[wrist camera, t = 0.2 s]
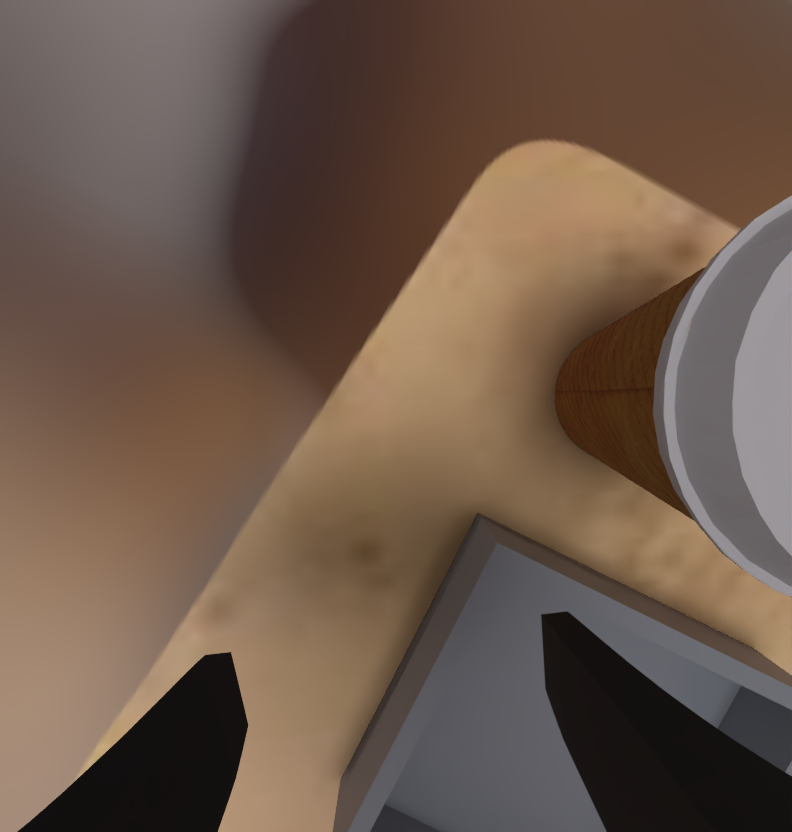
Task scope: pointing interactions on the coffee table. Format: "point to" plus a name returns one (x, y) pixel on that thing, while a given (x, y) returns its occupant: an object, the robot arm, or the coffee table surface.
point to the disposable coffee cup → (703, 397)
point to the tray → (532, 695)
